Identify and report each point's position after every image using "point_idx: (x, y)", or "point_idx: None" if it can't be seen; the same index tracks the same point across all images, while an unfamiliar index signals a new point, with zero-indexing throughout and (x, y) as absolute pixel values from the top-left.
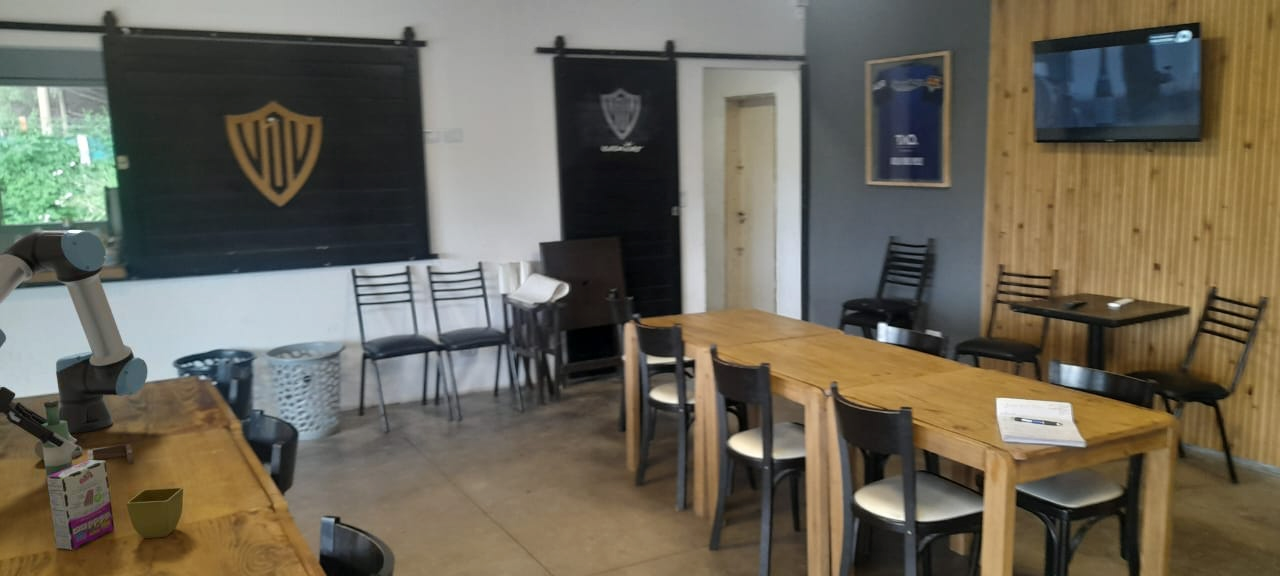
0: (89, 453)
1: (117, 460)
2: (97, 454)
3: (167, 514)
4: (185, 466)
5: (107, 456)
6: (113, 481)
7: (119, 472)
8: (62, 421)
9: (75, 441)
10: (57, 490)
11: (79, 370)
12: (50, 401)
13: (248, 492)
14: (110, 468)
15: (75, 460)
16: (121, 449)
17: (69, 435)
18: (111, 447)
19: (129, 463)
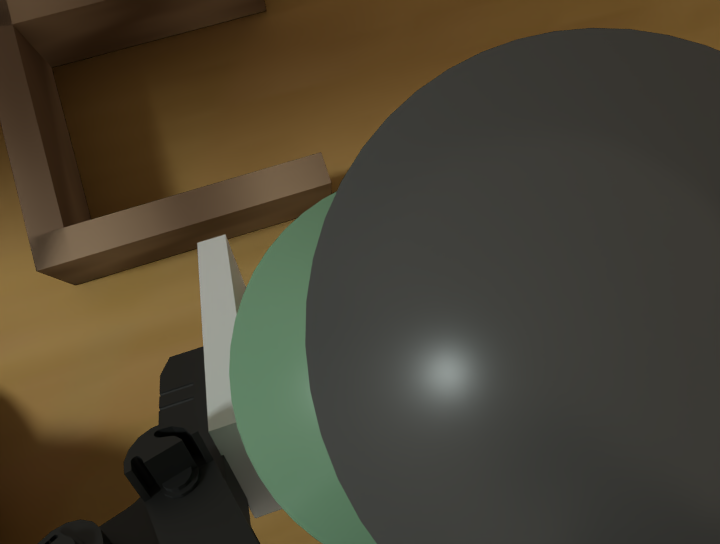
0: (155, 223)
1: (156, 95)
2: (74, 212)
3: None
4: None
5: (73, 164)
6: (589, 13)
7: (425, 22)
8: (311, 265)
9: (230, 248)
10: None
11: None
12: (552, 388)
13: None
14: (324, 93)
15: (38, 380)
16: (34, 67)
17: (207, 287)
18: (35, 110)
19: (263, 5)
